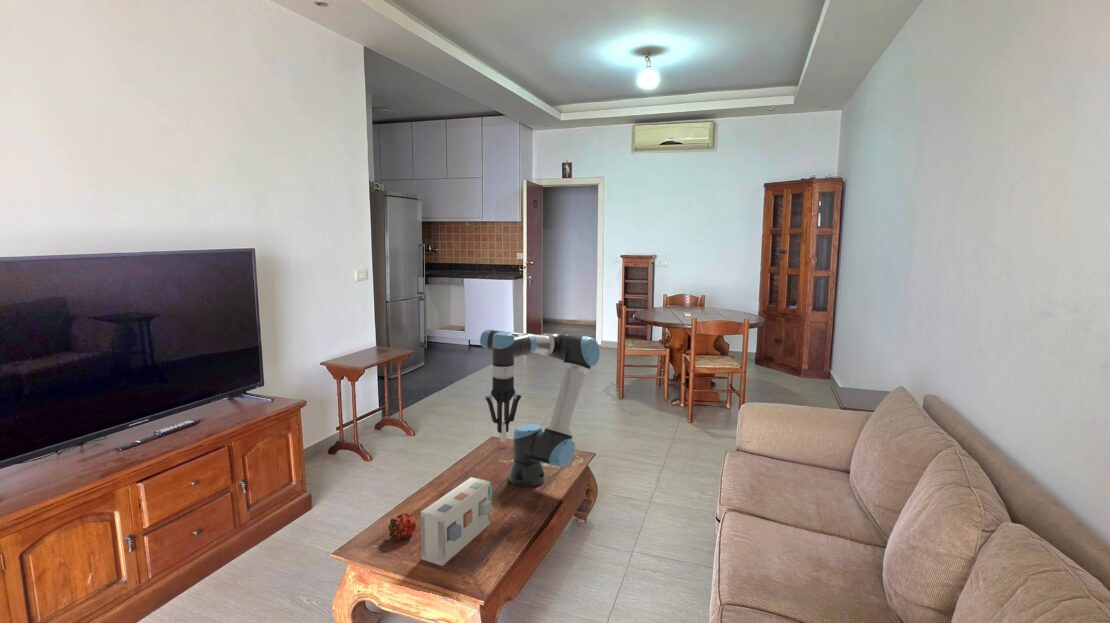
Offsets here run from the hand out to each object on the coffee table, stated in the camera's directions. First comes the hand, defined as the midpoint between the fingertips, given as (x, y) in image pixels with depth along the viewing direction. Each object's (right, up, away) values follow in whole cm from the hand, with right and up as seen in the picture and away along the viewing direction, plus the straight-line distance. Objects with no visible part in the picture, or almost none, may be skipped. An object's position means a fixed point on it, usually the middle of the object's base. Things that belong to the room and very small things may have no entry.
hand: (502, 440), depth 197 cm
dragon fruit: (-33, -31, -9) cm, 46 cm away
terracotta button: (-12, -24, -13) cm, 30 cm away
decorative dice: (-10, -28, +13) cm, 33 cm away
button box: (-14, -31, -11) cm, 36 cm away
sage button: (-7, -23, -6) cm, 25 cm away
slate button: (-14, -25, -22) cm, 36 cm away
